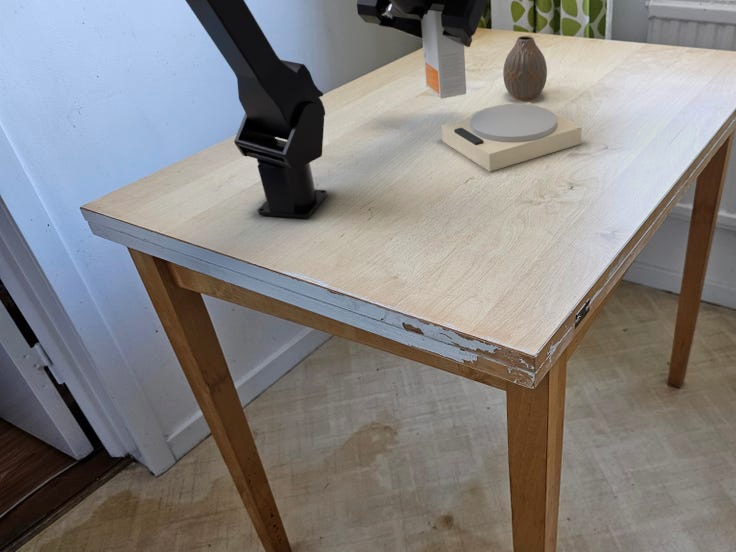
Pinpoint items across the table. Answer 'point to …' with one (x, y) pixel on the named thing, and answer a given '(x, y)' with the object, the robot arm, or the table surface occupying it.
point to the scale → (510, 135)
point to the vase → (525, 70)
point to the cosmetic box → (442, 59)
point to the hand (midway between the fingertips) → (449, 40)
